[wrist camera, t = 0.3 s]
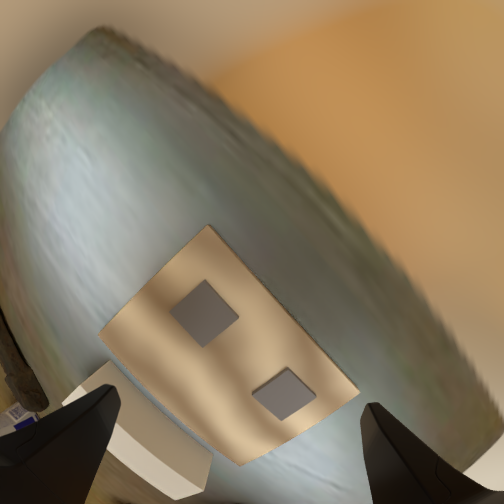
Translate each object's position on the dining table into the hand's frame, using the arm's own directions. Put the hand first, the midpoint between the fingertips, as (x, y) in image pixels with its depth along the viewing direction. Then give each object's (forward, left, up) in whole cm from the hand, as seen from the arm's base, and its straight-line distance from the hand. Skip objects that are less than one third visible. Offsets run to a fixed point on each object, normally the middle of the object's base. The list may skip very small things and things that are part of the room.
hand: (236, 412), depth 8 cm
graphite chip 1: (-3, +2, -14) cm, 14 cm away
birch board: (-6, -3, -15) cm, 16 cm away
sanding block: (-17, -3, -15) cm, 23 cm away
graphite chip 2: (-3, -8, -14) cm, 16 cm away
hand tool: (-28, +15, -15) cm, 36 cm away
